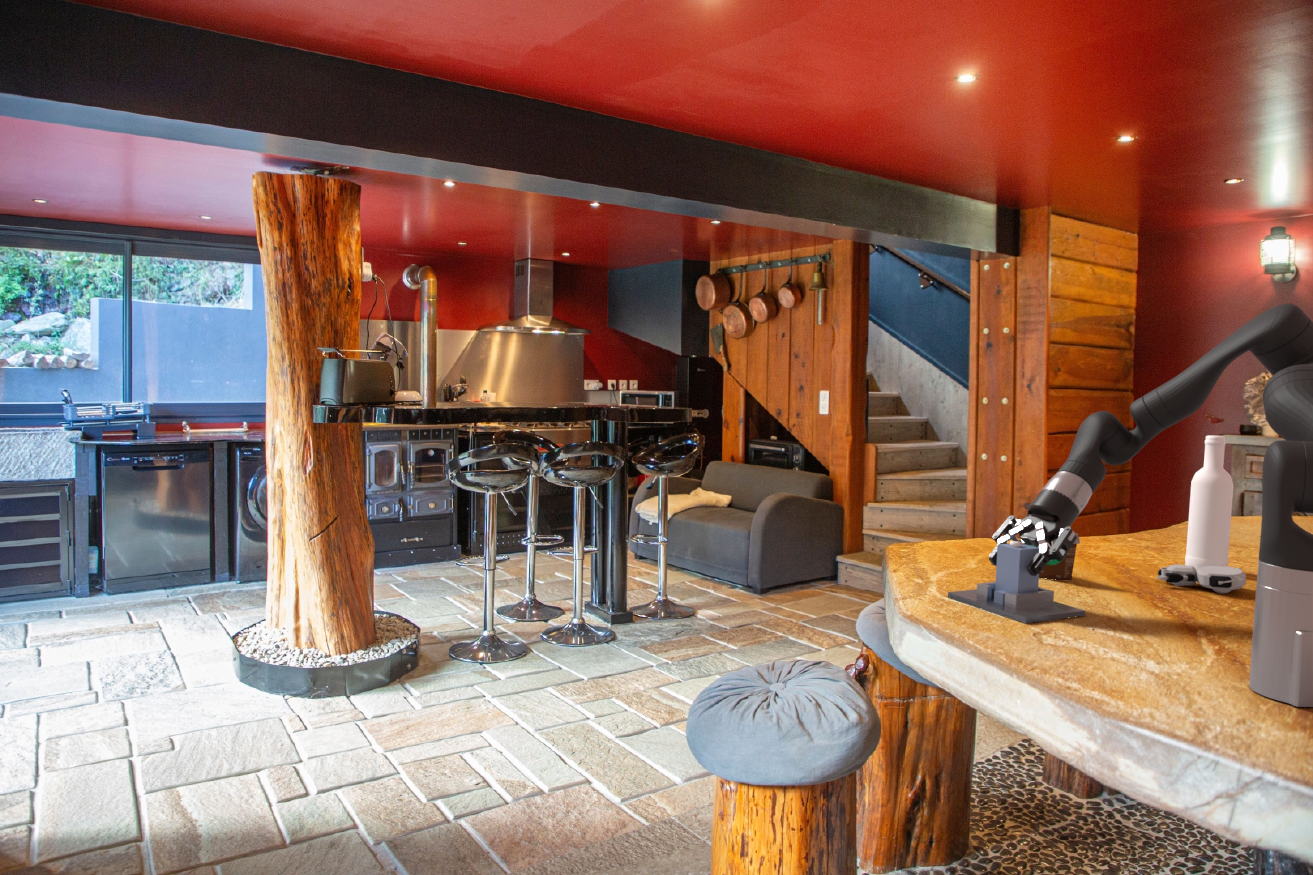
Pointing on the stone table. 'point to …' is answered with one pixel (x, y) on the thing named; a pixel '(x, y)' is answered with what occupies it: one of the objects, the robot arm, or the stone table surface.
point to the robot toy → (1204, 577)
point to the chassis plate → (1018, 604)
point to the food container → (1061, 565)
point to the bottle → (1210, 509)
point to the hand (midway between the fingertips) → (1010, 567)
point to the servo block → (1014, 570)
